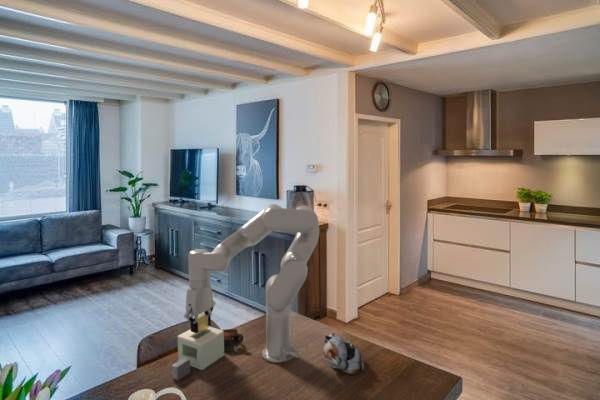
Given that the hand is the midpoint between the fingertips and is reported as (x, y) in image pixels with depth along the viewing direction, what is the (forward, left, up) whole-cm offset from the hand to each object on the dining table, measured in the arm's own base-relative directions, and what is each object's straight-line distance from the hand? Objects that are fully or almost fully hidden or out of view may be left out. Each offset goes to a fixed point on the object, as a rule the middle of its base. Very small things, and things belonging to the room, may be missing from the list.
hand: (200, 328), depth 145 cm
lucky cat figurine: (-49, -21, -12) cm, 55 cm away
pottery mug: (-3, -13, -12) cm, 18 cm away
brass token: (0, 0, -1) cm, 1 cm away
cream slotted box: (0, 0, -12) cm, 12 cm away
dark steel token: (-2, +12, -12) cm, 17 cm away
